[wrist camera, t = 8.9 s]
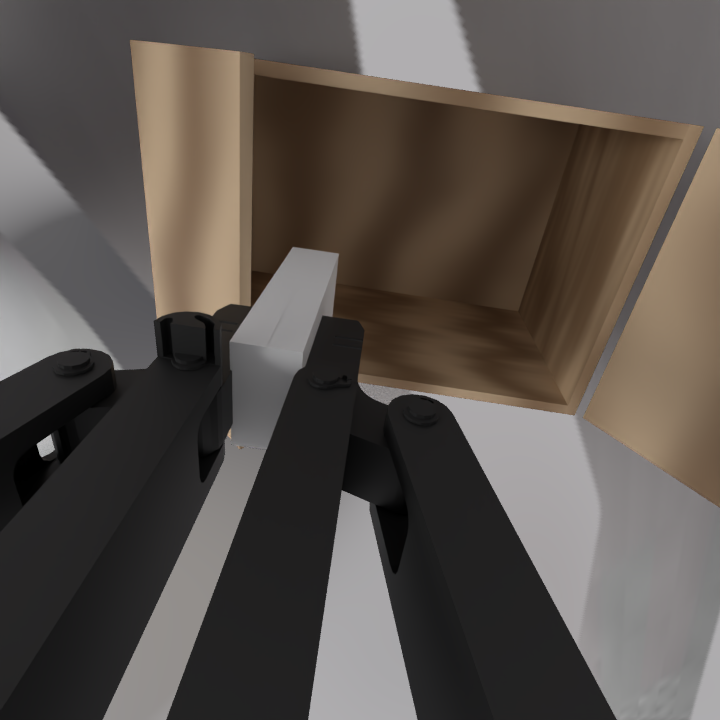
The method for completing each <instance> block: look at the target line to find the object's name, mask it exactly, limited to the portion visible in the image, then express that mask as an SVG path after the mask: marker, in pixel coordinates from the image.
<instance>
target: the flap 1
mask: <svg viewBox="0 0 720 720" xmlns="http://www.w3.org/2000/svg"><path fill="white" fill-rule="evenodd" d="M130 47H131V57H132V67H133V77H134V88H135V98H136V108H137V119H138V129H139V139H140V149H141V160H142V170H143V180H144V191H145V201H146V211H147V221H148V232H149V242H150V252H151V263H152V273H153V283H154V293H155V304H156V313H157V319H158V318H159V317H161V316H164V315H167V314H170V313H175V312H184V311H189V312H201V313H205V314H209V315H211V316H213V315H214V313H215V312H216V311H217V310H219V309H221V308H223V307H225V306H227V305H229V304H237V305H244V306H251V242H252V168H253V95H254V54H252V53H246V52H240V51H231V50H222V49H212V48H203V47H194V46H184V45H175V44H166V43H156V42H147V41H138V40H130ZM227 435H228V436H229V438H230V439H231V428H230V430H229V432H228V434H227ZM237 447H238V448H239V449H242V448H244V447H242V446H237Z"/></svg>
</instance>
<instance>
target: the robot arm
mask: <svg viewBox="0 0 720 720" xmlns="http://www.w3.org/2000/svg"><path fill="white" fill-rule="evenodd" d="M338 258H339V254H338V253H331V252H324V251H318V250H311V249H304V248H297V247H293V248H292V249H291V251H290V252H289V254H288V255H287V257H286V258H285V260H284V261H283V263H282V264H281V266H280V267H279V269H278V270H277V271H276V273H275V274H274V276H273V277H272V279H271V280H270V282H269V283H268V285H267V286H266V288H265V289H264V291H263V292H262V294H261V295H260V297H259V298H258V300H257V301H256V303H255V304H254V306H253V307H251V306H244V305H237V304H229V305H227V306H225V307H223V308H221V309H219V310H217V311H216V312H215V313H214V315H213V316H211V315H209V314H205V313H201V312H189V311H184V312H175V313H170V314H167V315H164V316H161V317H159V318H158V319H156V320H155V321H154V326H155V336H156V346H157V355H158V357H157V358H156V359H155V360H154V361H153V362H152V364H151V365H150V366H149V367H148V368H147V369H137V370H114V365H113V361H112V359H111V357H110V356H109V355H108V354H106V353H104V352H102V351H97V350H91V349H71V350H69V351H64V352H59V353H57V354H54V355H52V356H49V357H47V358H45V359H43V360H41V361H39V362H37V363H35V364H33V365H31V366H29V367H27V368H25V369H23V370H22V371H20V372H18V373H16V374H14V375H12V376H10V377H8V378H6V379H4V380H2V381H0V720H102V719H103V718H104V715H105V713H106V711H107V709H108V707H109V704H110V703H111V700H112V698H113V696H114V694H115V692H116V690H117V688H118V685H119V683H120V681H121V679H122V677H123V675H124V673H125V670H126V668H127V666H128V664H129V662H130V660H131V658H132V656H133V653H134V651H135V649H136V647H137V645H138V643H139V641H140V638H141V636H142V634H143V632H144V630H145V627H146V625H147V623H148V621H149V619H150V617H151V615H152V613H153V610H154V608H155V606H156V604H157V602H158V600H159V598H160V596H161V593H162V591H163V589H164V587H165V585H166V582H167V580H168V578H169V576H170V574H171V572H172V570H173V568H174V566H175V564H176V561H177V559H178V557H179V555H180V553H181V551H182V549H183V546H184V544H185V542H186V540H187V538H188V536H189V533H190V531H191V529H192V527H193V525H194V523H195V521H196V518H197V516H198V514H199V512H200V510H201V508H202V506H203V504H204V501H205V499H206V497H207V495H208V493H209V491H210V489H211V486H212V484H213V482H214V480H215V478H216V476H217V474H218V472H219V469H220V467H221V465H222V463H223V461H224V455H225V443H224V442H225V438H226V436H227V434H228V432H229V430H230V428H231V445H235V446H242V447H249V448H256V449H263V450H266V453H265V455H264V458H263V461H262V464H261V466H260V469H259V471H258V474H257V477H256V480H255V482H254V485H253V488H252V490H251V493H250V496H249V498H248V501H247V504H246V507H245V509H244V512H243V515H242V517H241V520H240V523H239V525H238V528H237V531H236V534H235V536H234V539H233V541H232V544H231V547H230V550H229V552H228V555H227V558H226V560H225V563H224V566H223V568H222V571H221V574H220V577H219V579H218V582H217V585H216V587H215V590H214V593H213V596H212V598H211V601H210V604H209V607H208V609H207V612H206V614H205V617H204V620H203V622H202V625H201V628H200V630H199V633H198V636H197V638H196V641H195V644H194V647H193V650H192V652H191V655H190V658H189V660H188V663H187V665H186V668H185V671H184V674H183V676H182V679H181V682H180V684H179V687H178V690H177V693H176V695H175V698H174V700H173V703H172V706H171V709H170V711H169V714H168V717H167V719H166V720H308V716H309V709H310V702H311V696H312V688H313V682H314V675H315V668H316V662H317V655H318V648H319V641H320V633H321V627H322V620H323V614H324V607H325V600H326V593H327V586H328V579H329V573H330V566H331V559H332V552H333V545H334V538H335V532H336V524H337V518H338V511H339V504H340V498H341V491H342V490H343V491H345V492H348V493H350V494H352V495H354V496H357V497H359V498H361V499H364V500H366V501H368V502H370V514H371V518H372V523H373V526H374V531H375V535H376V540H377V544H378V549H379V553H380V557H381V562H382V566H383V571H384V575H385V579H386V583H387V588H388V592H389V597H390V601H391V606H392V610H393V614H394V618H395V623H396V627H397V632H398V636H399V641H400V645H401V649H402V653H403V658H404V662H405V667H406V671H407V675H408V680H409V684H410V689H411V693H412V697H413V701H414V706H415V710H416V715H417V719H418V720H617V719H616V718H615V716H614V714H613V712H612V710H611V708H610V706H609V705H608V703H607V701H606V699H605V697H604V695H603V693H602V691H601V690H600V688H599V686H598V684H597V682H596V680H595V678H594V677H593V675H592V673H591V671H590V669H589V667H588V665H587V663H586V662H585V660H584V658H583V656H582V654H581V652H580V650H579V649H578V647H577V645H576V643H575V641H574V639H573V638H572V635H571V634H570V632H569V630H568V628H567V626H566V624H565V622H564V621H563V619H562V617H561V615H560V613H559V611H558V610H557V607H556V606H555V604H554V602H553V600H552V598H551V596H550V594H549V593H548V591H547V589H546V587H545V585H544V583H543V581H542V579H541V578H540V576H539V574H538V572H537V570H536V568H535V566H534V565H533V563H532V561H531V559H530V557H529V555H528V553H527V552H526V550H525V548H524V546H523V544H522V542H521V540H520V538H519V536H518V535H517V533H516V531H515V529H514V527H513V525H512V523H511V522H510V520H509V518H508V516H507V514H506V512H505V510H504V509H503V507H502V505H501V503H500V501H499V499H498V497H497V495H496V494H495V492H494V490H493V488H492V486H491V484H490V482H489V481H488V479H487V477H486V475H485V473H484V471H483V470H482V467H481V466H480V464H479V462H478V460H477V458H476V456H475V454H474V453H473V451H472V449H471V447H470V445H469V443H468V441H467V440H466V438H465V436H464V434H463V432H462V430H461V428H460V426H459V424H458V423H457V421H456V419H455V417H454V415H453V414H452V412H451V411H450V410H449V409H448V408H447V406H445V405H444V404H442V403H440V402H439V401H437V400H435V399H432V398H429V397H427V396H422V395H414V394H411V395H402V396H399V397H397V398H395V399H393V400H392V401H391V402H390V404H389V405H386V404H383V403H381V402H378V401H376V400H374V399H372V398H371V397H369V396H368V395H366V394H365V393H364V392H363V391H362V390H361V388H360V386H359V384H358V374H359V366H360V359H361V352H362V345H363V338H364V331H365V330H364V328H363V327H362V325H361V324H360V322H359V321H357V320H350V319H343V318H337V317H332V315H333V306H334V296H335V287H336V277H337V267H338ZM50 434H51V437H52V441H53V444H54V448H55V450H54V451H53V452H52V453H50V454H48V455H46V456H44V457H41V456H40V454H39V451H38V448H37V443H39V442H40V441H41V440H43V439H44V438H46V437H47V436H49V435H50Z"/></svg>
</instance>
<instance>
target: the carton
mask: <svg viewBox="0 0 720 720" xmlns="http://www.w3.org/2000/svg"><path fill="white" fill-rule="evenodd" d="M703 128H704V126H698V125H691V124H684V123H678V122H671V121H665V120H658V119H651V118H645V117H638V116H631V115H625V114H618V113H611V112H605V111H598V110H592V109H585V108H578V107H572V106H565V105H558V104H552V103H545V102H538V101H532V100H525V99H519V98H512V97H505V96H499V95H492V94H485V93H479V92H472V91H465V90H459V89H452V88H445V87H439V86H432V85H425V84H419V83H412V82H405V81H399V80H393V79H386V78H378V77H373V76H366V75H359V74H353V73H346V72H340V71H333V70H326V69H320V68H313V67H306V66H300V65H293V64H286V63H280V62H273V61H267V60H260V59H254V95H253V168H252V242H251V307H253V306H254V304H255V303H256V301H257V300H258V298H259V297H260V295H261V294H262V292H263V291H264V289H265V288H266V286H267V285H268V283H269V282H270V280H271V279H272V277H273V276H274V274H275V273H276V271H277V270H278V269H279V267H280V266H281V264H282V263H283V261H284V260H285V258H286V257H287V255H288V254H289V252H290V251H291V249H292V248H293V247H297V248H304V249H311V250H318V251H324V252H331V253H338V254H339V258H338V267H337V277H336V287H335V296H334V306H333V315H332V317H337V318H343V319H350V320H357V321H359V322H360V324H361V325H362V327H363V328H364V330H365V331H364V338H363V345H362V352H361V359H360V366H359V374H358V382H360V383H367V384H373V385H380V386H387V387H393V388H400V389H406V390H413V391H419V392H426V393H432V394H439V395H445V396H452V397H459V398H465V399H472V400H478V401H485V402H491V403H498V404H505V405H511V406H517V407H523V408H531V409H537V410H544V411H550V412H556V413H563V414H569V415H575V413H576V410H577V408H578V406H579V404H580V402H581V399H582V397H583V395H584V393H585V390H586V388H587V386H588V384H589V382H590V379H591V377H592V375H593V373H594V370H595V368H596V366H597V364H598V361H599V359H600V357H601V355H602V353H603V350H604V348H605V346H606V344H607V341H608V339H609V337H610V335H611V333H612V330H613V328H614V326H615V324H616V321H617V319H618V317H619V315H620V312H621V310H622V308H623V306H624V304H625V301H626V299H627V297H628V295H629V292H630V290H631V288H632V286H633V284H634V281H635V279H636V277H637V275H638V272H639V270H640V268H641V266H642V263H643V261H644V259H645V257H646V255H647V252H648V250H649V248H650V246H651V243H652V241H653V239H654V237H655V235H656V232H657V230H658V228H659V226H660V223H661V221H662V219H663V217H664V214H665V212H666V210H667V208H668V206H669V203H670V201H671V199H672V197H673V194H674V192H675V190H676V188H677V186H678V183H679V181H680V179H681V177H682V174H683V172H684V170H685V168H686V165H687V163H688V161H689V159H690V157H691V154H692V152H693V150H694V148H695V145H696V143H697V141H698V139H699V137H700V134H701V132H702V130H703Z"/></svg>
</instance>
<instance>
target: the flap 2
mask: <svg viewBox="0 0 720 720" xmlns="http://www.w3.org/2000/svg"><path fill="white" fill-rule="evenodd" d="M583 418H584V419H586V420H587V421H589V422H590V423H592V424H593V425H595V426H596V427H598V428H599V429H601V430H602V431H604V432H605V433H607V434H608V435H610V436H612V437H613V438H615V439H616V440H618V441H619V442H621V443H622V444H624V445H625V446H627V447H628V448H630V449H631V450H633V451H634V452H636V453H637V454H639V455H640V456H642V457H644V458H645V459H647V460H648V461H650V462H651V463H653V464H654V465H656V466H657V467H659V468H660V469H662V470H663V471H665V472H666V473H668V474H669V475H671V476H672V477H674V478H675V479H677V480H679V481H680V482H682V483H683V484H685V485H686V486H688V487H689V488H691V489H692V490H694V491H695V492H697V493H698V494H700V495H701V496H703V497H704V498H706V499H707V500H709V501H711V502H712V503H714V504H715V505H717V506H718V507H720V129H718V128H717V129H716V131H715V133H714V135H713V137H712V140H711V142H710V144H709V146H708V148H707V150H706V153H705V155H704V157H703V159H702V161H701V163H700V165H699V168H698V170H697V172H696V174H695V176H694V178H693V181H692V183H691V185H690V187H689V189H688V191H687V194H686V196H685V198H684V200H683V202H682V204H681V207H680V209H679V211H678V213H677V215H676V217H675V220H674V222H673V224H672V226H671V228H670V230H669V233H668V235H667V237H666V239H665V241H664V243H663V246H662V248H661V250H660V252H659V254H658V256H657V259H656V261H655V263H654V265H653V267H652V269H651V272H650V274H649V276H648V278H647V280H646V282H645V285H644V287H643V289H642V291H641V293H640V295H639V298H638V300H637V302H636V304H635V306H634V308H633V311H632V313H631V315H630V317H629V319H628V321H627V323H626V326H625V328H624V330H623V332H622V334H621V336H620V339H619V341H618V343H617V345H616V347H615V349H614V352H613V354H612V356H611V358H610V360H609V362H608V365H607V367H606V369H605V371H604V373H603V375H602V378H601V380H600V382H599V384H598V386H597V388H596V391H595V393H594V395H593V397H592V399H591V401H590V404H589V406H588V408H587V410H586V412H585V414H584V417H583Z"/></svg>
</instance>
